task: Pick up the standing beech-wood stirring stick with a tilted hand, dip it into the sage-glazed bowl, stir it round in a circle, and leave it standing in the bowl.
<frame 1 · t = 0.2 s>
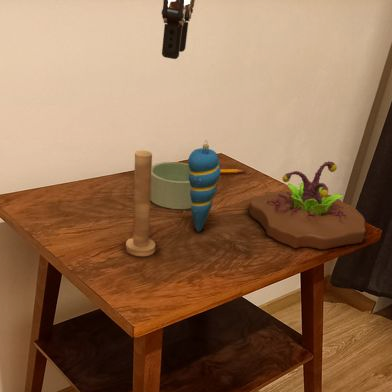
hand: (173, 54, 74), 26 cm above the table, tool pointing down, fingers open, 8 cm apart
ornament: (197, 231, 92), on the table
stick: (140, 249, 84), on the table
plant: (307, 224, 98), on the table
pencil: (200, 172, 113), on the table
bowl: (175, 197, 102), on the table
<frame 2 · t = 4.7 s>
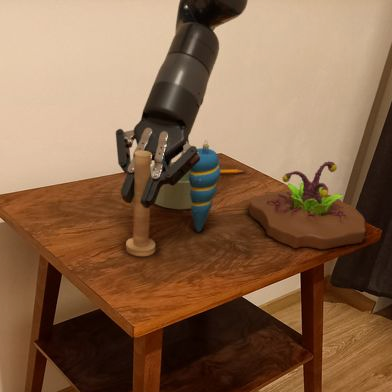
hand: (135, 202, 78), 8 cm above the table, tool tilted 45°, fingers closed on stick, 2 cm apart
stick: (140, 249, 84), on the table, touching gripper
everything else where it was.
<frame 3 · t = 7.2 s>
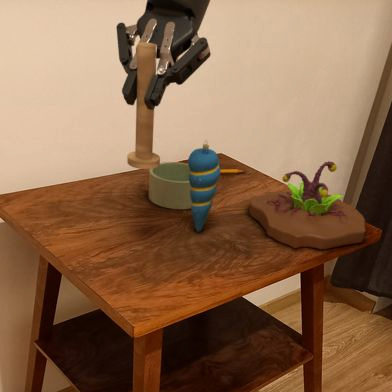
hand: (138, 103, 70), 22 cm above the table, tool tilted 45°, fingers closed on stick, 2 cm apart
stick: (143, 163, 76), point 13 cm above the table, touching gripper
everything else where it was.
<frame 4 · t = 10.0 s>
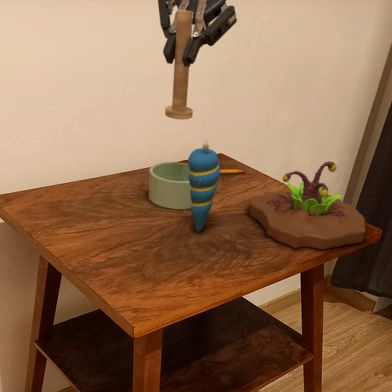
hand: (176, 61, 84), 24 cm above the table, tool tilted 45°, fingers closed on stick, 2 cm apart
stick: (178, 115, 90), point 15 cm above the table, touching gripper
everything else where it was.
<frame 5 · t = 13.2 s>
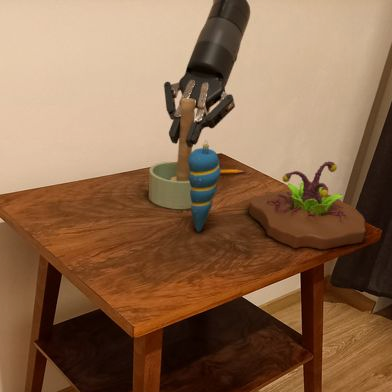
hand: (181, 142, 93), 11 cm above the table, tool tilted 45°, fingers closed on stick, 2 cm apart
stick: (182, 185, 100), point 2 cm above the table, touching gripper
everything else where it was.
when the fingers open (9 cm above the table, at t = 15.6 s): stick stays where it is, resting on bowl.
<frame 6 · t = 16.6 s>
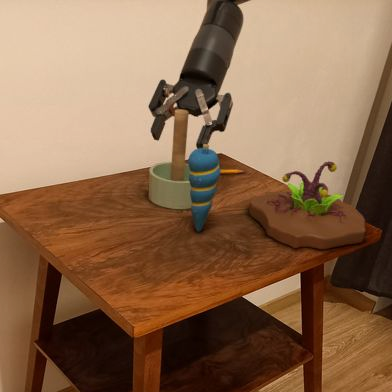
hand: (176, 143, 94), 10 cm above the table, tool tilted 45°, fingers open, 8 cm apart
stick: (175, 195, 101), resting on bowl
everything else where it was.
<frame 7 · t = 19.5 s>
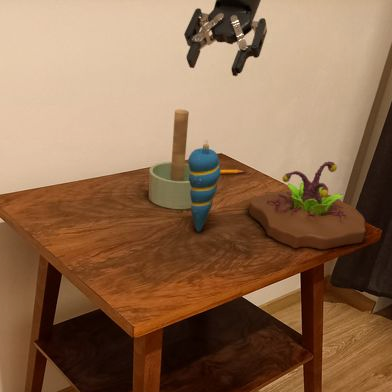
hand: (212, 69, 97), 21 cm above the table, tool tilted 45°, fingers open, 8 cm apart
nothing on the table moved.
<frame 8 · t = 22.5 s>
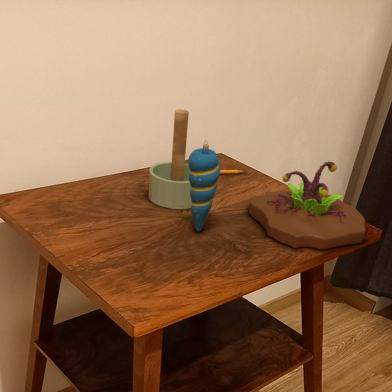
nothing on the table moved.
at the end: stick 0.1 cm off-centre in the bowl, point 0.5 cm above the bowl's base; stick tilted 0°; the gripper is holding nothing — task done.
